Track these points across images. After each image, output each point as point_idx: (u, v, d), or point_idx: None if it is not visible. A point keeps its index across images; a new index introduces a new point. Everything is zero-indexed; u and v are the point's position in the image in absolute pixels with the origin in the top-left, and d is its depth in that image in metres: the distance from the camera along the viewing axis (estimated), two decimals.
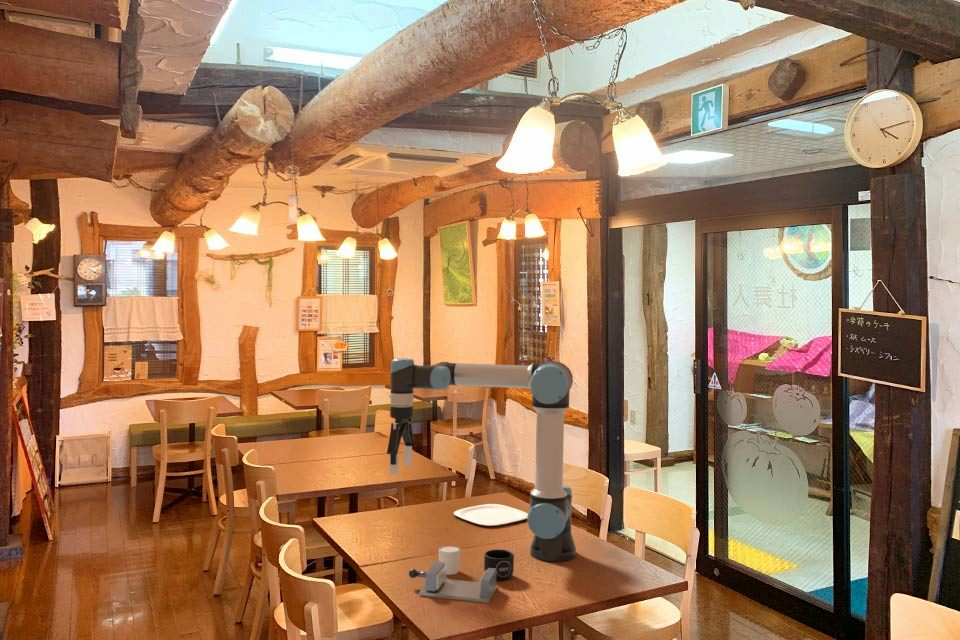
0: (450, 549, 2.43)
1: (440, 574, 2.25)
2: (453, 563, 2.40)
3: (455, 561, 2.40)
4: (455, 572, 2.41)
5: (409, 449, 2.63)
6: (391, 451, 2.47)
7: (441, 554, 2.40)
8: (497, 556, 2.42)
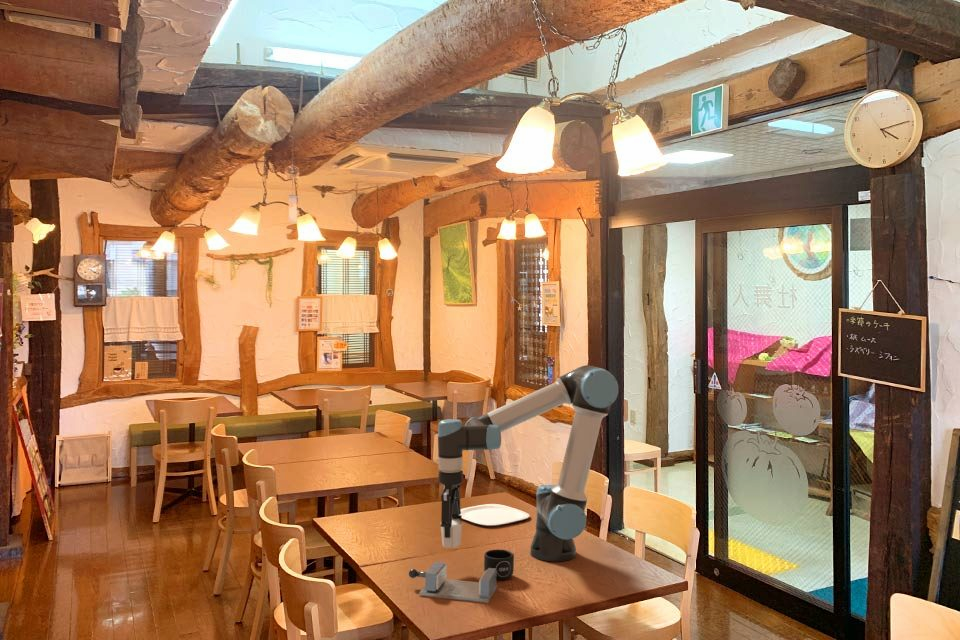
0: (452, 522, 2.42)
1: (440, 574, 2.25)
2: (455, 536, 2.39)
3: (457, 533, 2.40)
4: (457, 545, 2.40)
5: None
6: (445, 525, 2.35)
7: None
8: (497, 556, 2.42)
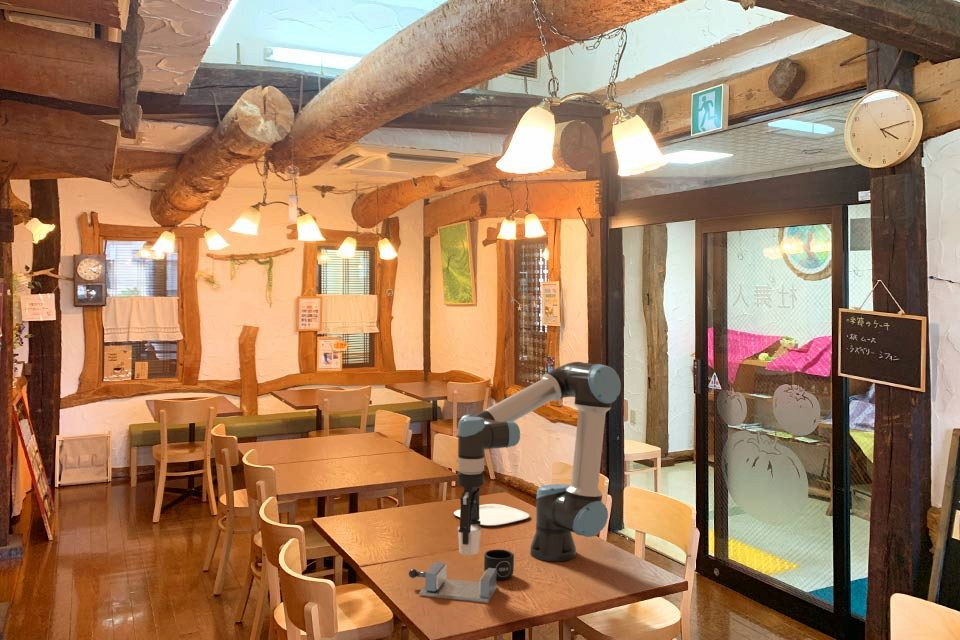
0: None
1: (440, 574, 2.25)
2: (474, 542, 2.22)
3: (476, 540, 2.23)
4: (476, 552, 2.23)
5: None
6: (464, 530, 2.18)
7: None
8: (497, 556, 2.42)
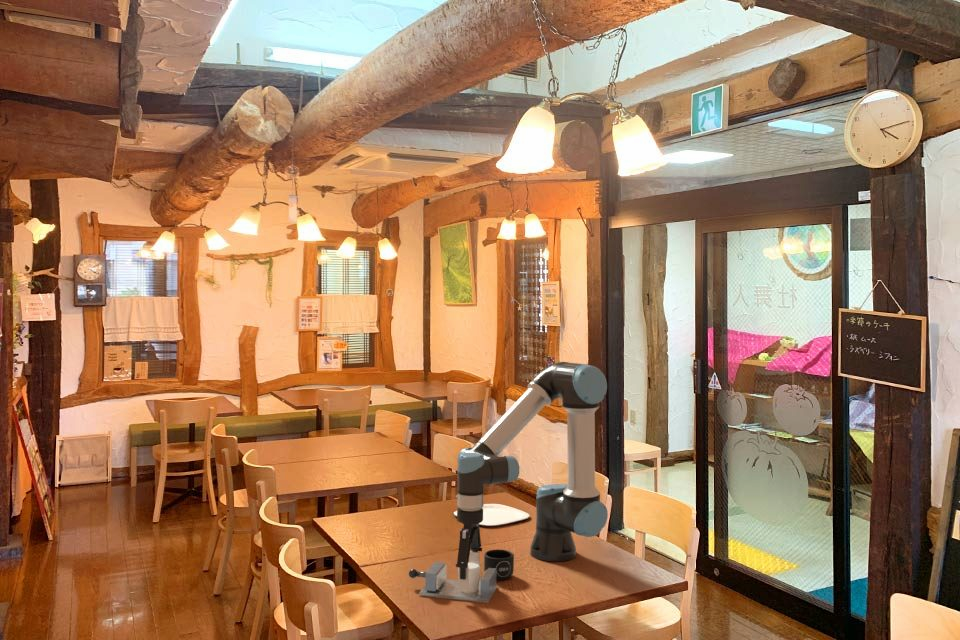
0: (470, 565, 2.26)
1: (440, 574, 2.25)
2: (473, 580, 2.23)
3: (476, 578, 2.23)
4: (475, 590, 2.24)
5: (476, 556, 2.31)
6: (461, 565, 2.16)
7: None
8: (497, 556, 2.42)
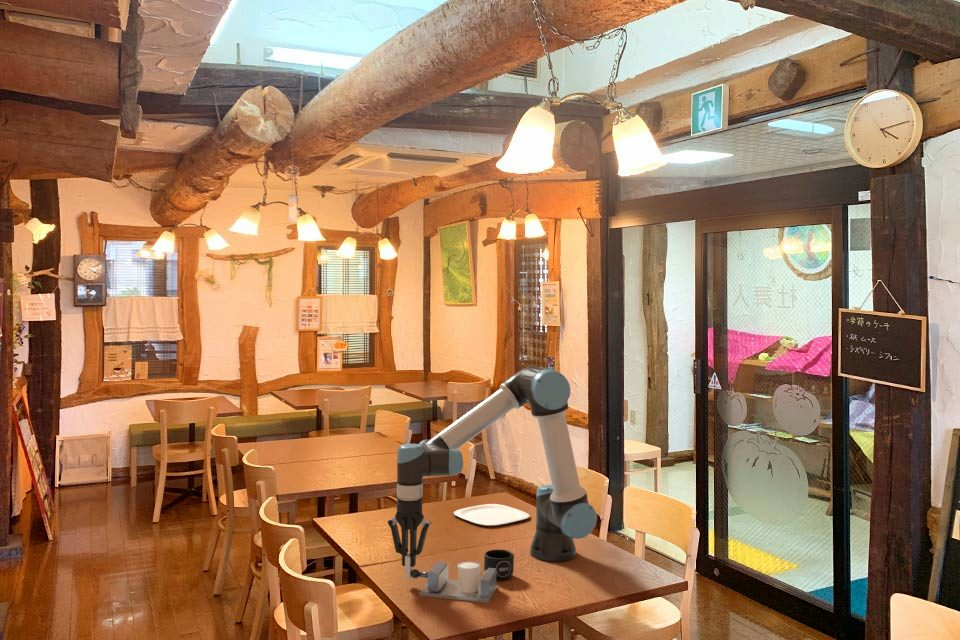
0: (470, 565, 2.26)
1: (442, 574, 2.25)
2: (473, 580, 2.23)
3: (476, 578, 2.23)
4: (475, 590, 2.24)
5: None
6: None
7: (460, 570, 2.23)
8: (497, 556, 2.42)
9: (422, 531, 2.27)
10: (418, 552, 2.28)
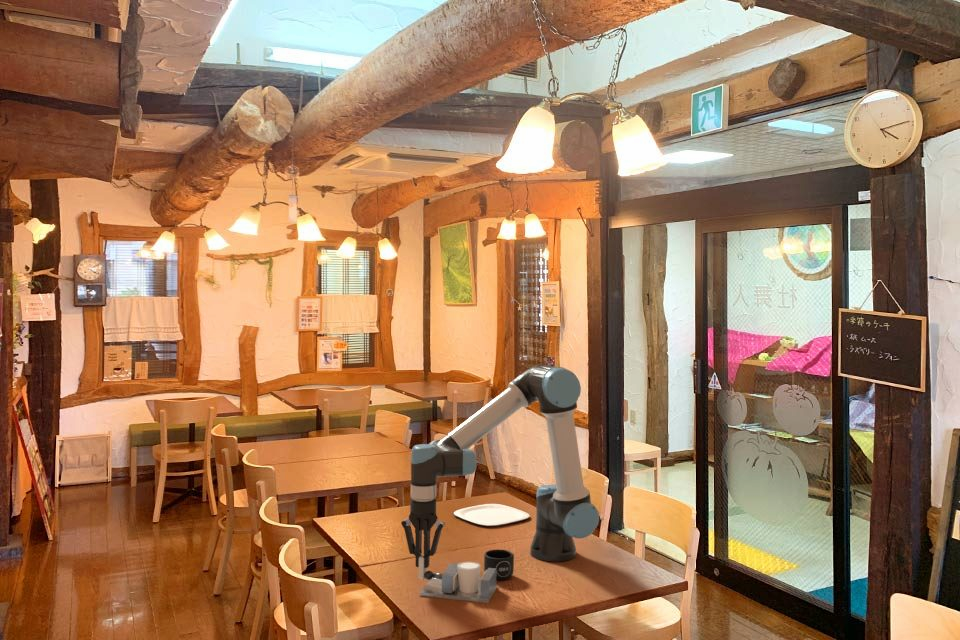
0: (470, 565, 2.26)
1: (456, 576, 2.24)
2: (473, 580, 2.23)
3: (476, 578, 2.23)
4: (475, 590, 2.24)
5: None
6: None
7: (460, 570, 2.23)
8: (497, 556, 2.42)
9: (436, 532, 2.26)
10: (432, 553, 2.27)
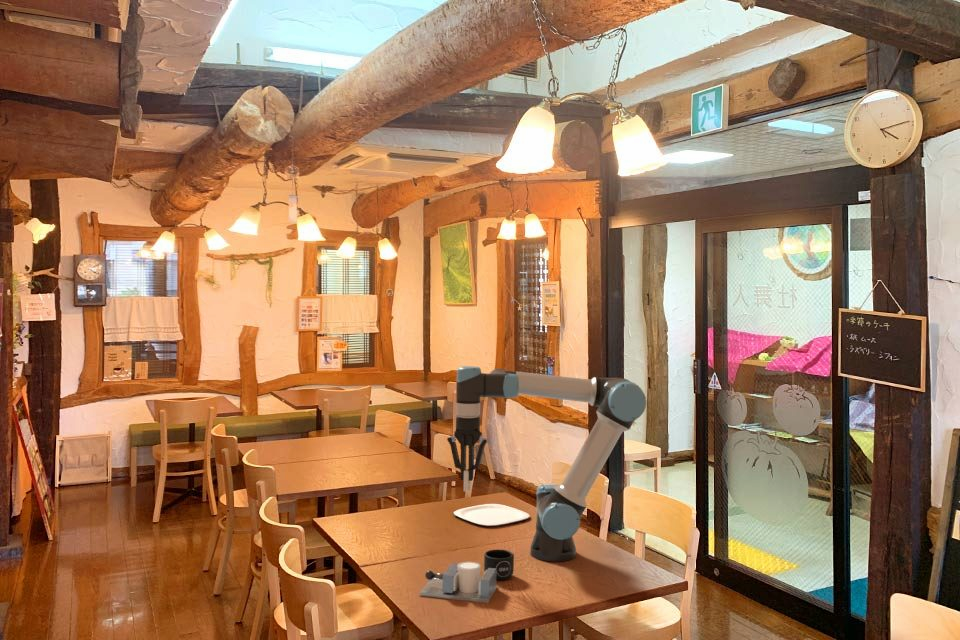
0: (470, 565, 2.26)
1: (457, 576, 2.24)
2: (473, 580, 2.23)
3: (476, 578, 2.23)
4: (475, 590, 2.24)
5: None
6: None
7: (460, 570, 2.23)
8: (497, 556, 2.42)
9: (480, 447, 2.43)
10: (476, 466, 2.43)
